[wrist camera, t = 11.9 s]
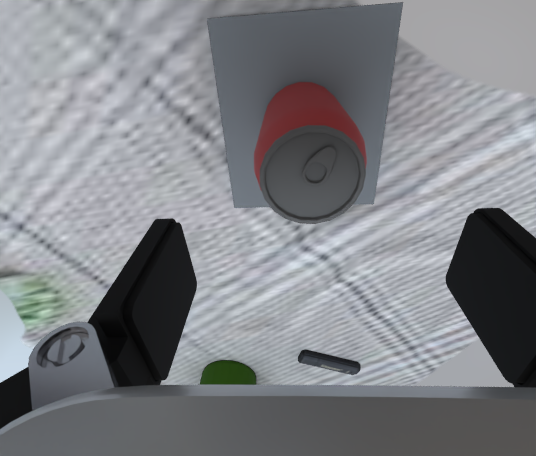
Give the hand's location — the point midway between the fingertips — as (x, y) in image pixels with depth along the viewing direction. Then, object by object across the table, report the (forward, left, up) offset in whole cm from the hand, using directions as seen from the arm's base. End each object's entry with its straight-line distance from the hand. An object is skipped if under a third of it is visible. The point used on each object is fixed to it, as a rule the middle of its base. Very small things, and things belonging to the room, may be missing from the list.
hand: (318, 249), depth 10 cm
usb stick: (+36, +4, -20) cm, 41 cm away
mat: (0, 0, -19) cm, 19 cm away
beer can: (0, 0, -19) cm, 19 cm away
